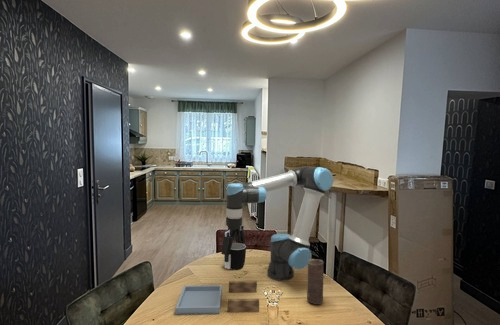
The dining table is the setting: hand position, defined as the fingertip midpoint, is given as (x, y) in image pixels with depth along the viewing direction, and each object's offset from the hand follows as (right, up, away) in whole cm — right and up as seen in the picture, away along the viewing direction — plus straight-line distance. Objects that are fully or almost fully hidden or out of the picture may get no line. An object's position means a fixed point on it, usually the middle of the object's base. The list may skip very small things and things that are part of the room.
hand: (233, 264), depth 128 cm
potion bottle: (-3, -16, +40) cm, 43 cm away
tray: (-15, -18, 0) cm, 24 cm away
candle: (+39, -18, +1) cm, 43 cm away
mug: (0, -1, 0) cm, 1 cm away
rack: (+5, -18, +2) cm, 19 cm away
